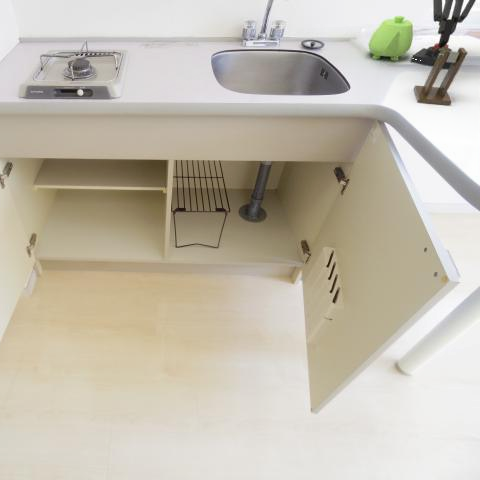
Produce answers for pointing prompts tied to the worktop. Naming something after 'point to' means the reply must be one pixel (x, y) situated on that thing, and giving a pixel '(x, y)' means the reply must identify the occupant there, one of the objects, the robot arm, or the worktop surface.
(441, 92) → the brown wooden stand
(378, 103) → the worktop surface
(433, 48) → the button
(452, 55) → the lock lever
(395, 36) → the teapot
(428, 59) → the button box
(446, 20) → the robot arm
